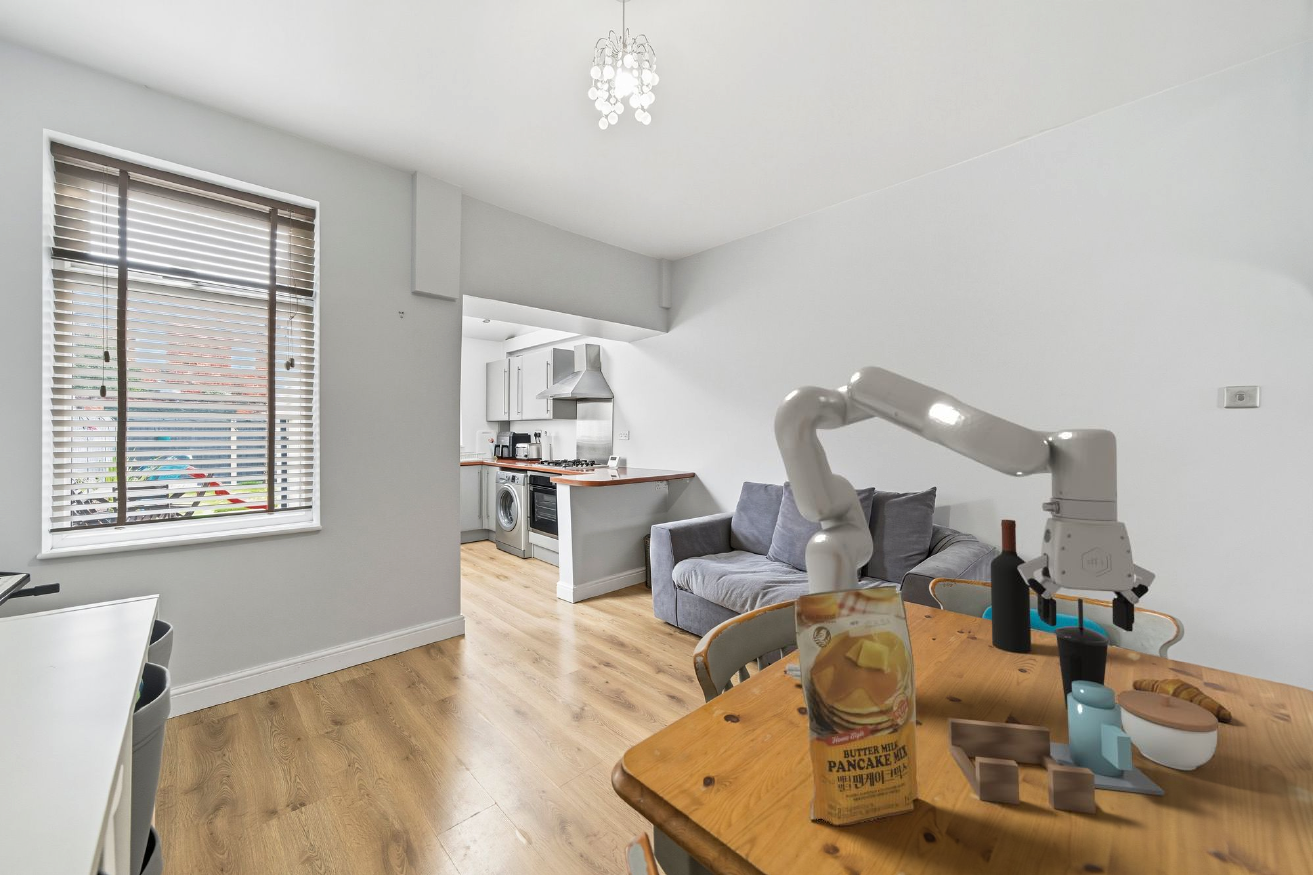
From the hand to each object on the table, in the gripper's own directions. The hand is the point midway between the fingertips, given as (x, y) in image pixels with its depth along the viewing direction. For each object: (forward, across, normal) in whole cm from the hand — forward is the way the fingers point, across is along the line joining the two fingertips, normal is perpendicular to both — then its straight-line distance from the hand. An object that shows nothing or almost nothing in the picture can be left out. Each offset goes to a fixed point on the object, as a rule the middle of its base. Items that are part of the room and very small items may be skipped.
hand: (1084, 625), depth 76 cm
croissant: (+21, +27, +23) cm, 41 cm away
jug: (+20, +1, -2) cm, 20 cm away
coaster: (+20, +1, -1) cm, 21 cm away
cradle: (+21, -12, -6) cm, 25 cm away
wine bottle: (+21, +11, +48) cm, 54 cm away
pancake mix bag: (+21, -34, -16) cm, 43 cm away
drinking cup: (+21, +9, +17) cm, 28 cm away
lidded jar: (+21, +13, +4) cm, 25 cm away
